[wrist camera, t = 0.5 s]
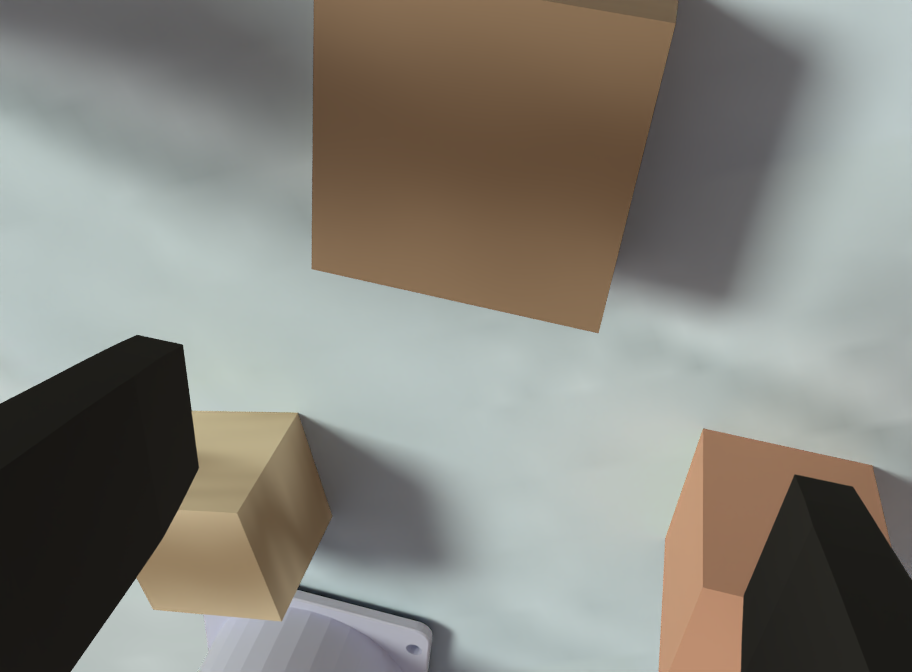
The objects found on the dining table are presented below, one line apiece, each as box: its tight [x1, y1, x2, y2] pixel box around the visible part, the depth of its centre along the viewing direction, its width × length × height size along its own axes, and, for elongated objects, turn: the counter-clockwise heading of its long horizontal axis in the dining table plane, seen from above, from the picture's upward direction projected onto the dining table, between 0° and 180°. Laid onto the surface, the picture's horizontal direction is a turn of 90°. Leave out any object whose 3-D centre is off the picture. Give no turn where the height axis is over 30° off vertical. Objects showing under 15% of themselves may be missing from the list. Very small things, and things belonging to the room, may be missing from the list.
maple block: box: [136, 411, 332, 622], centre depth 24 cm, size 4×4×4 cm
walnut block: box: [312, 0, 678, 333], centre depth 17 cm, size 6×6×3 cm
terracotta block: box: [659, 429, 891, 672], centre depth 20 cm, size 4×4×5 cm
